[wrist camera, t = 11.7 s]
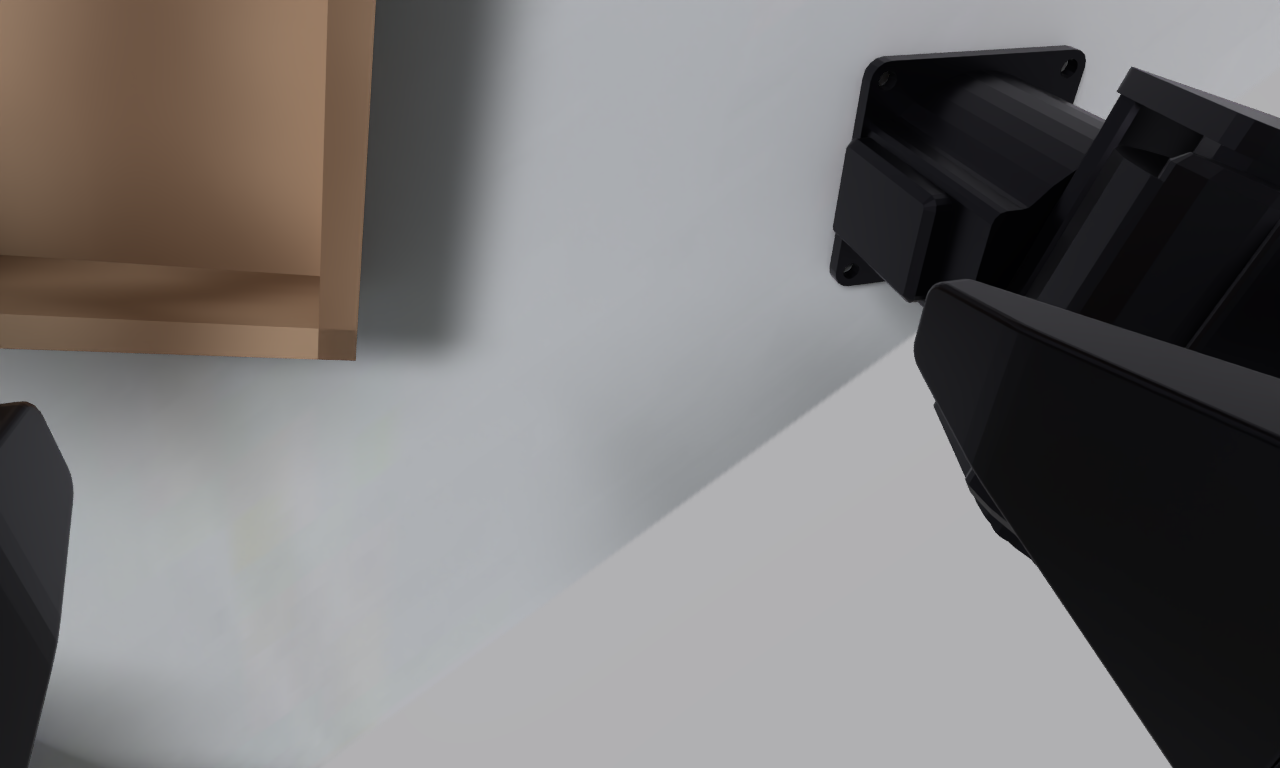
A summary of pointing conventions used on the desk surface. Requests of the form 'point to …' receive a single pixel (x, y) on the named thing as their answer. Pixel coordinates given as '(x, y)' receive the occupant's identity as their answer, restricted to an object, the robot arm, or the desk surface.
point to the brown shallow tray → (184, 175)
